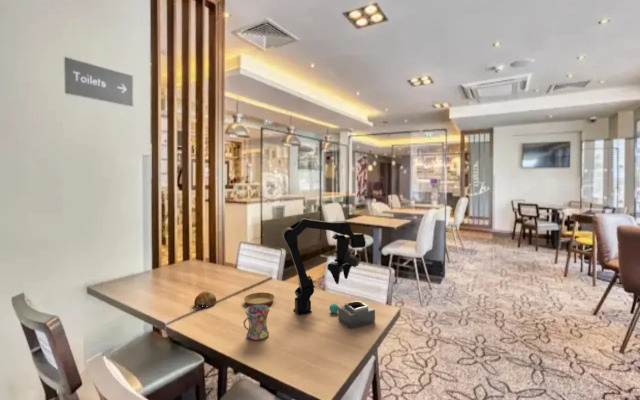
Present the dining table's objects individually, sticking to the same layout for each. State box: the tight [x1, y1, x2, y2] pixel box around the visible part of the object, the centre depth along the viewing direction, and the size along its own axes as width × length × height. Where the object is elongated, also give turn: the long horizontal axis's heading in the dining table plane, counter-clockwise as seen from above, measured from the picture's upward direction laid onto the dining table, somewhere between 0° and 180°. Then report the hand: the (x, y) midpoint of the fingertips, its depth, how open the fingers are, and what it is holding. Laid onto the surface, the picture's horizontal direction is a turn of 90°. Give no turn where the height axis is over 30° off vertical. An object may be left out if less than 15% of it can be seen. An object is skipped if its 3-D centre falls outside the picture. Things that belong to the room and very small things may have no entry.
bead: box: [329, 303, 339, 314], centre depth 148 cm, size 4×4×4 cm
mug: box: [242, 305, 270, 341], centre depth 125 cm, size 12×9×11 cm
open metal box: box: [337, 300, 376, 330], centre depth 139 cm, size 12×10×7 cm
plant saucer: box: [243, 292, 275, 307], centre depth 160 cm, size 15×15×3 cm
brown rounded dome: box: [194, 291, 217, 308], centre depth 159 cm, size 10×10×8 cm
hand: (341, 281), depth 153 cm, fingers open, 9 cm apart
